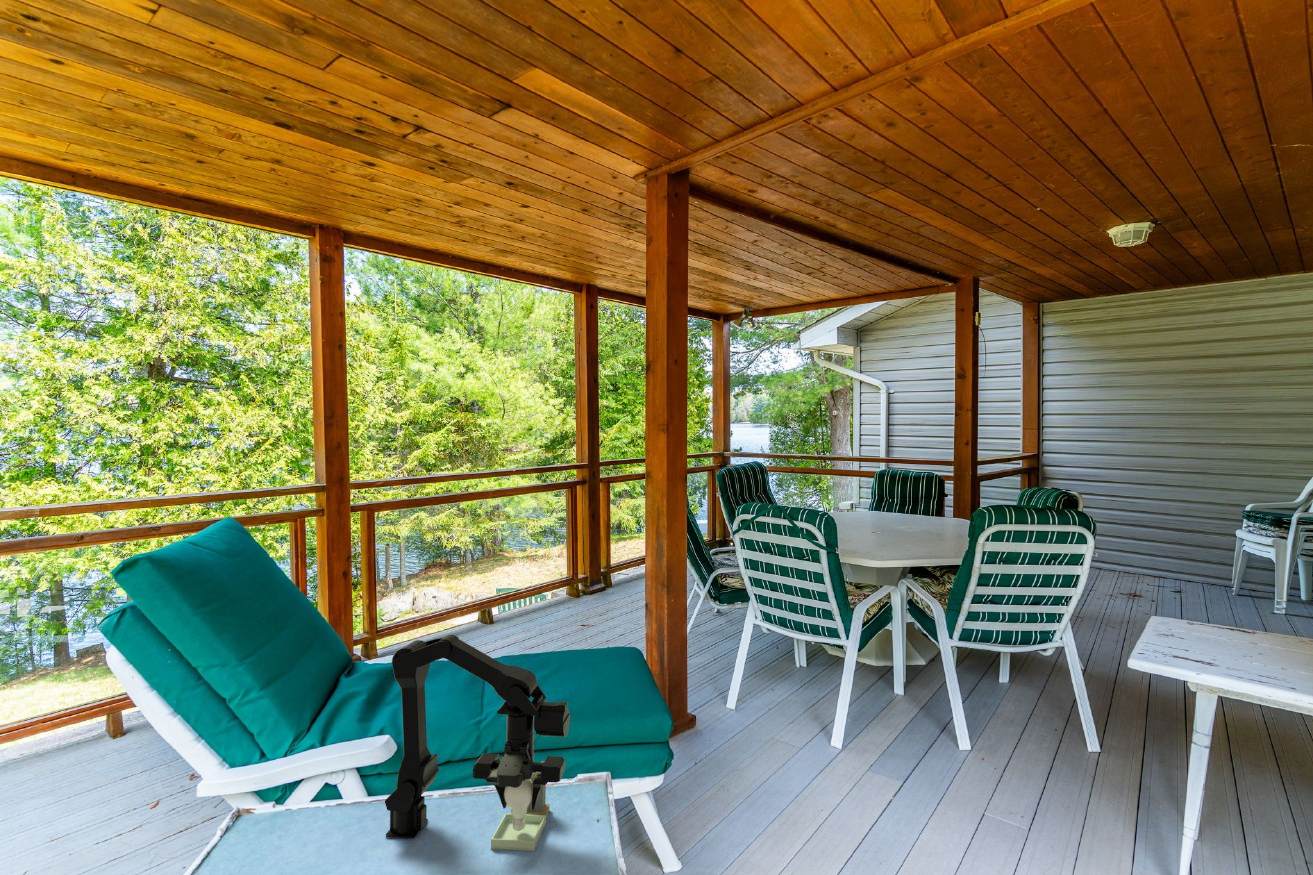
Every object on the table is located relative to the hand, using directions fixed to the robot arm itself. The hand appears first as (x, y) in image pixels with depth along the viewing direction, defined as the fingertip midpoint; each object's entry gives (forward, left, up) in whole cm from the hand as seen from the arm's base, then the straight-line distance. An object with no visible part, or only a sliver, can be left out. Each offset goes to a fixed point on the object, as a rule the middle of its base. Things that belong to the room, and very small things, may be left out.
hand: (519, 807), depth 128 cm
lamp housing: (+1, +8, -6) cm, 10 cm away
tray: (0, 0, -6) cm, 6 cm away
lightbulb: (0, 0, -5) cm, 5 cm away
